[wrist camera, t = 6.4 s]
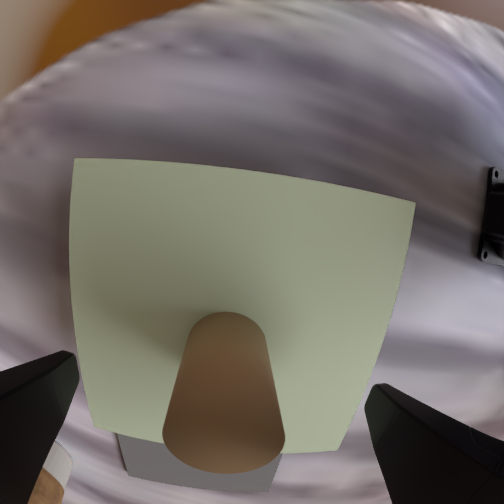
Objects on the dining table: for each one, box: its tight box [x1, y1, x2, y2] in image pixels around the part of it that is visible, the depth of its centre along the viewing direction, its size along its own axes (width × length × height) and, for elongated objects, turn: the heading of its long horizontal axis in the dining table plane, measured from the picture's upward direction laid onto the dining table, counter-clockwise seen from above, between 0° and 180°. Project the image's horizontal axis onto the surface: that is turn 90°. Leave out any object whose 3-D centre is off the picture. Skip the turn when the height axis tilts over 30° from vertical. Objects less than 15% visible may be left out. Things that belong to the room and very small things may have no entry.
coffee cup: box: [28, 441, 73, 504], centre depth 10 cm, size 8×8×15 cm
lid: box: [69, 158, 416, 474], centre depth 8 cm, size 12×12×6 cm
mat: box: [117, 433, 283, 492], centre depth 17 cm, size 12×12×1 cm
